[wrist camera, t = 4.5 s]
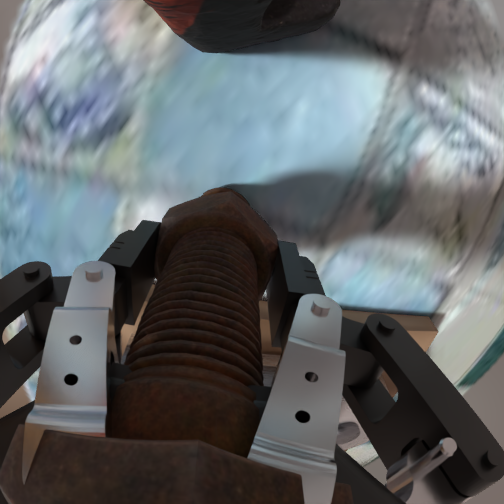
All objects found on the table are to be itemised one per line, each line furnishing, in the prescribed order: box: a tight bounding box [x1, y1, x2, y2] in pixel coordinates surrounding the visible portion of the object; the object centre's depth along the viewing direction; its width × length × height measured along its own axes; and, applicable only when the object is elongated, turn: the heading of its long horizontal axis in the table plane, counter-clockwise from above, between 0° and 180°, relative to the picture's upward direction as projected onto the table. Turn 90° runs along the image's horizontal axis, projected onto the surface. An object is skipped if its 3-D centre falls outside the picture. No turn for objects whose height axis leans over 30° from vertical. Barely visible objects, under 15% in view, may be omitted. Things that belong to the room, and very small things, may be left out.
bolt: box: [0, 188, 354, 504], centre depth 9 cm, size 6×5×15 cm
